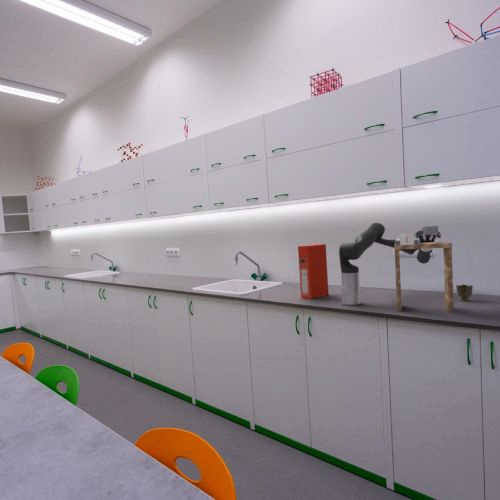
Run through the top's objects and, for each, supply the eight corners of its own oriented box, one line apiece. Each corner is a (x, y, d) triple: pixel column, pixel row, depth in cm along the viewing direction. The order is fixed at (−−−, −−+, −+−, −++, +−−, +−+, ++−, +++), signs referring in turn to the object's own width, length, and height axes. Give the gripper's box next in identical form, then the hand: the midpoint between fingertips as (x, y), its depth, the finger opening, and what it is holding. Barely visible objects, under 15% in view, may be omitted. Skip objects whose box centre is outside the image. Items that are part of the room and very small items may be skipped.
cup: (453, 300, 188) (452, 285, 188) (462, 298, 191) (462, 283, 191) (466, 302, 181) (466, 287, 181) (476, 300, 184) (476, 285, 184)
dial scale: (395, 245, 169) (395, 234, 169) (395, 243, 182) (395, 234, 181) (418, 244, 166) (418, 233, 166) (417, 242, 178) (416, 232, 178)
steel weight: (424, 235, 177) (424, 226, 176) (421, 233, 195) (421, 226, 194) (438, 234, 174) (438, 226, 174) (433, 233, 193) (433, 225, 192)
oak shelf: (397, 311, 172) (394, 245, 170) (396, 305, 184) (394, 243, 182) (454, 312, 163) (451, 243, 161) (449, 306, 175) (447, 241, 173)
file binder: (300, 298, 220) (297, 246, 218) (318, 293, 231) (315, 244, 229) (311, 299, 214) (308, 246, 212) (328, 294, 225) (326, 244, 223)
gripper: (412, 237, 207) (413, 222, 192) (439, 236, 202) (442, 220, 187) (413, 249, 204) (414, 235, 189) (440, 248, 199) (444, 233, 184)
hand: (428, 228), depth 188 cm, fingers closed on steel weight, 3 cm apart
